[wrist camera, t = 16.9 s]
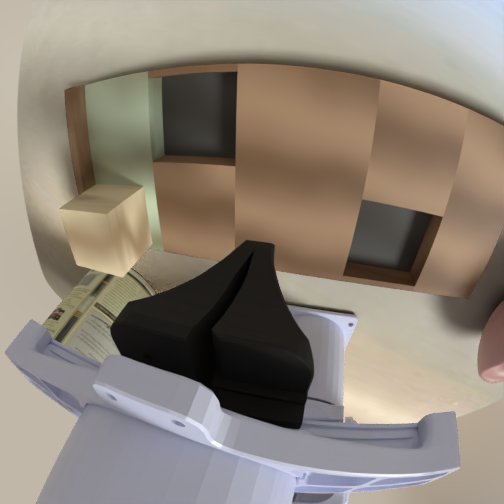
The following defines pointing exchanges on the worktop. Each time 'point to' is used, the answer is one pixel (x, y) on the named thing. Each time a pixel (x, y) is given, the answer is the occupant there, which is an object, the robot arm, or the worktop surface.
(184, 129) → the board
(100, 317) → the coffee can
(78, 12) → the worktop surface
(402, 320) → the worktop surface
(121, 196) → the block
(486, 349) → the pink mushroom
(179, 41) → the worktop surface
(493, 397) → the worktop surface
